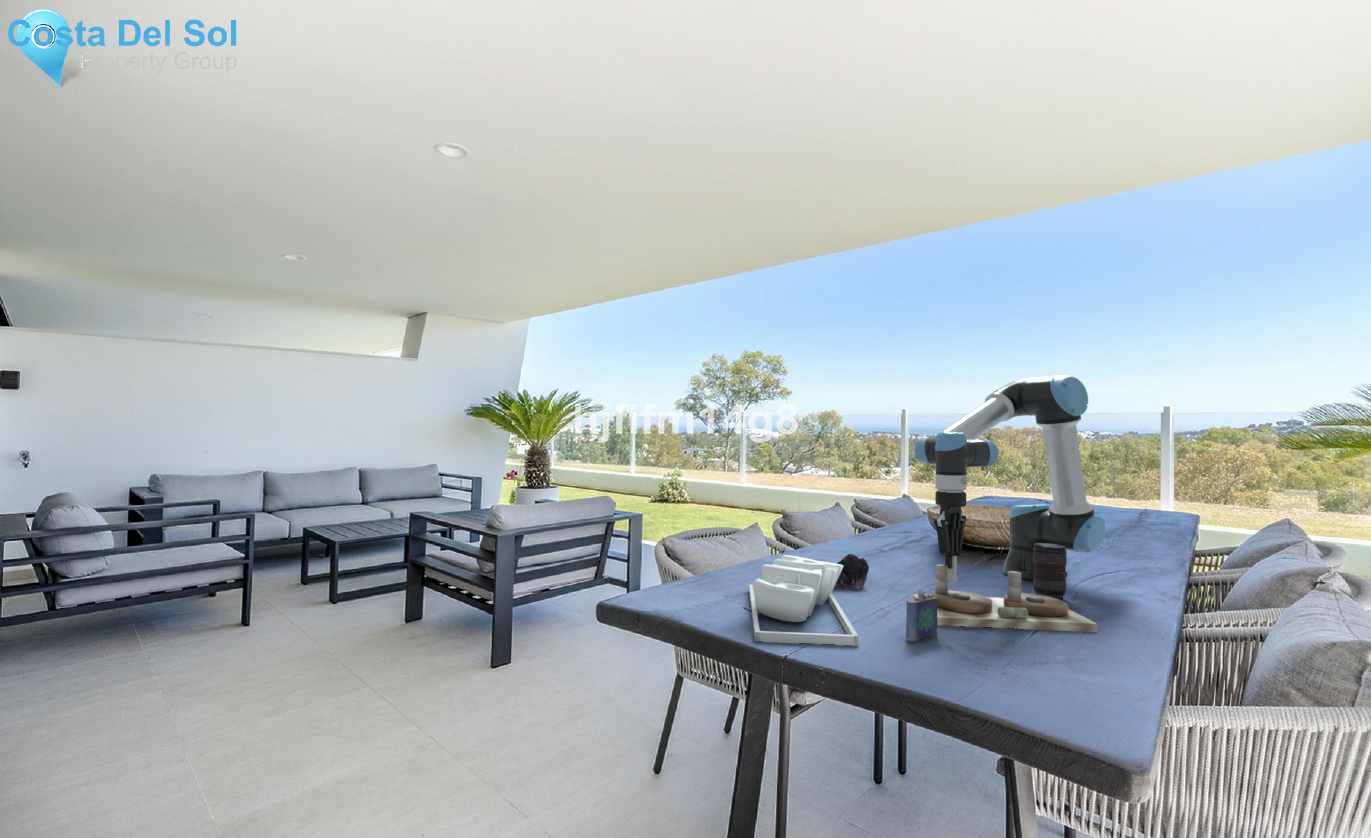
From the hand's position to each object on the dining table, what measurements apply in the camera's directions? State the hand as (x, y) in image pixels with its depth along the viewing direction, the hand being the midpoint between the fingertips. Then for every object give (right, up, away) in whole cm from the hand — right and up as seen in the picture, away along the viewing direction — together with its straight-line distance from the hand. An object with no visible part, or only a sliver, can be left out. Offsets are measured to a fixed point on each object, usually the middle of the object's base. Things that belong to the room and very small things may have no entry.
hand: (950, 580), depth 160 cm
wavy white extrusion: (-41, -6, -5) cm, 42 cm away
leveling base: (+9, -7, -7) cm, 13 cm away
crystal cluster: (-22, -7, +21) cm, 32 cm away
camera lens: (+32, -8, +10) cm, 35 cm away
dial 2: (+18, -5, -8) cm, 20 cm away
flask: (-17, -7, -25) cm, 31 cm away
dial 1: (0, -5, -6) cm, 8 cm away
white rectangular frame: (-42, -6, -9) cm, 44 cm away
